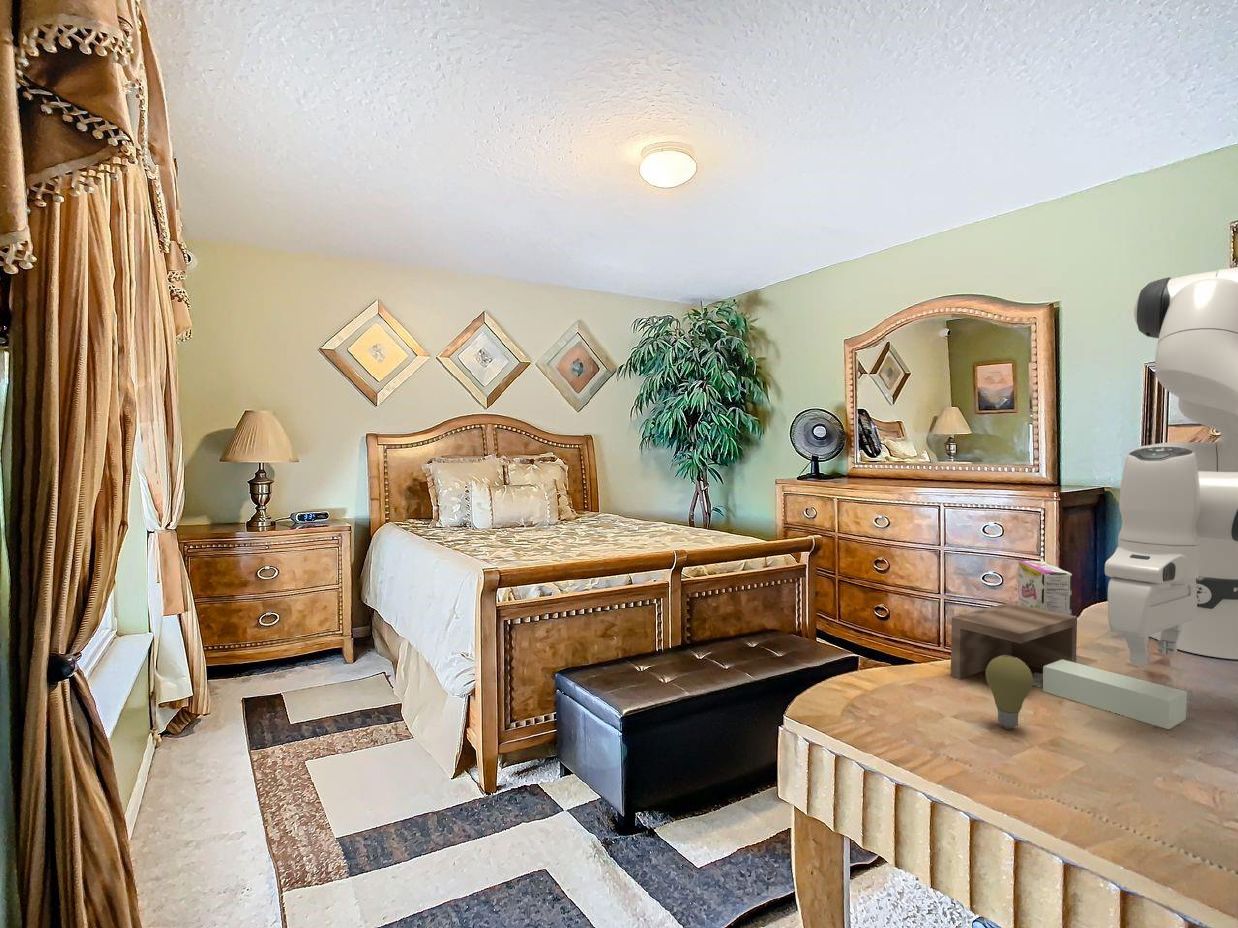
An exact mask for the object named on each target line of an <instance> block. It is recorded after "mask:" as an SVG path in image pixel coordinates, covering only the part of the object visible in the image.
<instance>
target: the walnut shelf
mask: <svg viewBox="0 0 1238 928" xmlns="http://www.w3.org/2000/svg"><path fill="white" fill-rule="evenodd" d="M950 631H951V636H950V639H951V642H950V645H951V646H950V677H952V678H955V679H958V680H961V679H963V678H966V677H970V676H972V675H975V674H978V673H981V672H984V671H986V668H987V666H988V664H989V663H990V661H991V660H993V659H994V658H996V657H998V656H1002V655H1009V656H1014V657H1016V658H1018V659H1020V660H1021V661H1023V662H1024V663H1025V664H1028V665H1027V666H1029V665H1031V666H1030V667H1033V666H1034V667H1033V668H1036V667H1037V669H1041V670H1043V666H1045V665H1048V664H1051V663H1054V662H1056V661H1059V660H1062V659H1063V660H1066V661H1070V662H1074V663H1077V640H1078V639H1077V638H1078V636H1077V635H1078V616H1077V615H1072V614H1071V615H1067V614H1062V613H1057V612H1052V611H1047V610H1043V609H1038V608H1033V607H1028V606H1023V605H1018V603H1013V602H1007V603H1003V604H998V605H995V606H991V607H987V608H982V609H979V610H975V611H971V612H966V613H962V614H960V615H955V616H952V617H951V630H950ZM1032 676H1033V685H1032V686H1035V685H1036V686H1035V687H1038V686H1039V688H1043V687H1042V686H1043V673H1040V672H1035V673H1032ZM960 678H961V679H960Z"/></svg>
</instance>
